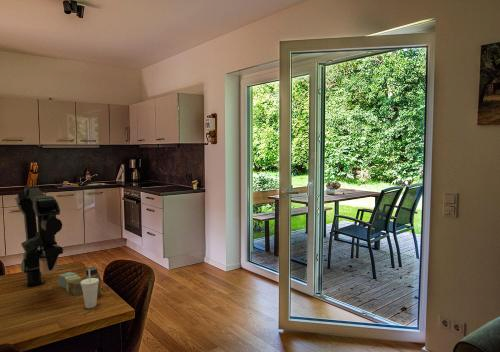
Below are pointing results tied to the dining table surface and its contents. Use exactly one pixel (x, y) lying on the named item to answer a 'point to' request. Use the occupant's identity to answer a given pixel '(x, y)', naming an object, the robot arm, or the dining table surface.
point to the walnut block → (75, 287)
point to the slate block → (62, 278)
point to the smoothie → (90, 291)
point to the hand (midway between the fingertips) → (48, 268)
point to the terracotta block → (46, 266)
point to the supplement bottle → (93, 275)
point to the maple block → (70, 278)
